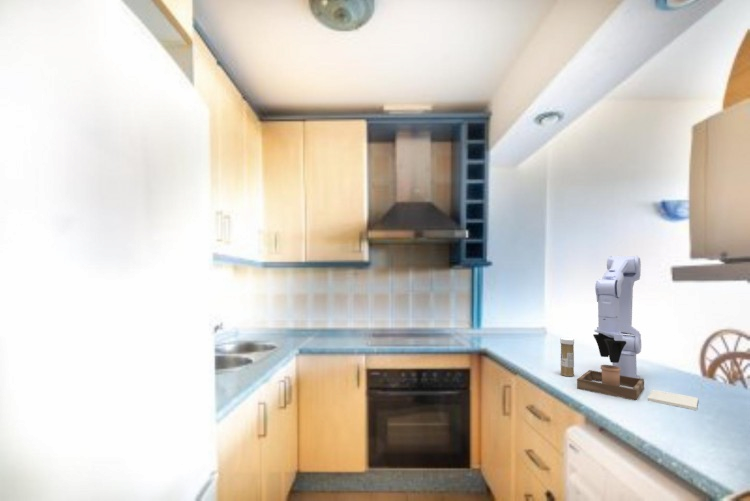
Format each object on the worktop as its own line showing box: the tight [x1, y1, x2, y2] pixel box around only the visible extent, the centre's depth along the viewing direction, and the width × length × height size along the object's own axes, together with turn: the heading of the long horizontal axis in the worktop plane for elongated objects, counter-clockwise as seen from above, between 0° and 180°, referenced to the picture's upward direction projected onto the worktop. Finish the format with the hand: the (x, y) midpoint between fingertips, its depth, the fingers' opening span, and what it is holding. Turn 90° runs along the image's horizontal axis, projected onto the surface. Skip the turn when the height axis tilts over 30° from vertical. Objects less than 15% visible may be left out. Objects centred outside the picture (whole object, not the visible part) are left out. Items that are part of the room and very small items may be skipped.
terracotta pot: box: [600, 364, 621, 386], centre depth 123 cm, size 6×6×7 cm
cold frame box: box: [576, 369, 645, 401], centre depth 123 cm, size 16×16×3 cm
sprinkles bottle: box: [559, 337, 575, 377], centre depth 139 cm, size 5×5×14 cm
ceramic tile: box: [647, 389, 699, 411], centre depth 112 cm, size 11×11×1 cm
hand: (609, 359), depth 121 cm, fingers open, 7 cm apart
